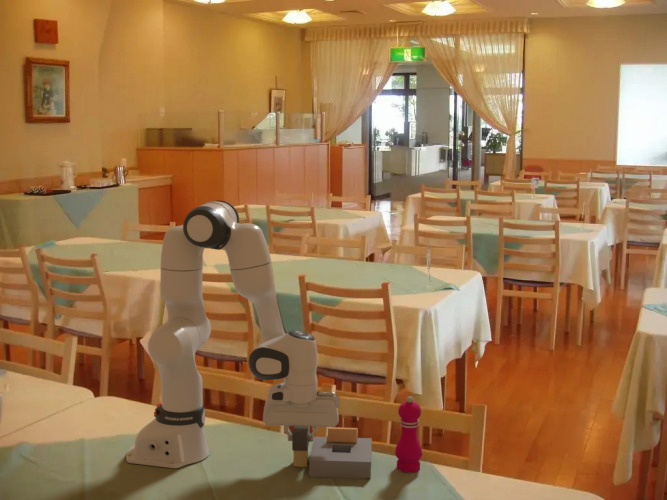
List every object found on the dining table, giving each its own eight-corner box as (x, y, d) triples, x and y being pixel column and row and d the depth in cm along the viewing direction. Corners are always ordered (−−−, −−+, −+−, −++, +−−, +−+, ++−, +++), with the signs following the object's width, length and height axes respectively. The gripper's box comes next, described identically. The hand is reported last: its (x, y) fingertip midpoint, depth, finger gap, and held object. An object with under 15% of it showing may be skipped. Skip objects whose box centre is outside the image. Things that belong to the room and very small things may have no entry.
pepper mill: (420, 474, 213) (422, 402, 210) (393, 472, 214) (394, 399, 211) (423, 463, 220) (425, 393, 217) (396, 461, 221) (398, 391, 218)
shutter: (327, 441, 222) (327, 428, 222) (329, 430, 230) (329, 418, 230) (356, 442, 222) (357, 429, 221) (357, 431, 230) (357, 418, 229)
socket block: (309, 476, 211) (309, 460, 211) (314, 452, 227) (314, 436, 226) (370, 478, 210) (370, 462, 210) (371, 453, 226) (371, 438, 225)
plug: (292, 468, 217) (292, 432, 215) (294, 459, 222) (294, 424, 221) (307, 468, 216) (307, 432, 215) (309, 459, 222) (309, 424, 221)
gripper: (340, 388, 219) (339, 437, 221) (265, 386, 220) (265, 434, 222) (339, 396, 212) (338, 446, 215) (261, 394, 214) (262, 443, 216)
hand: (300, 440), depth 218 cm, fingers closed on plug, 4 cm apart
